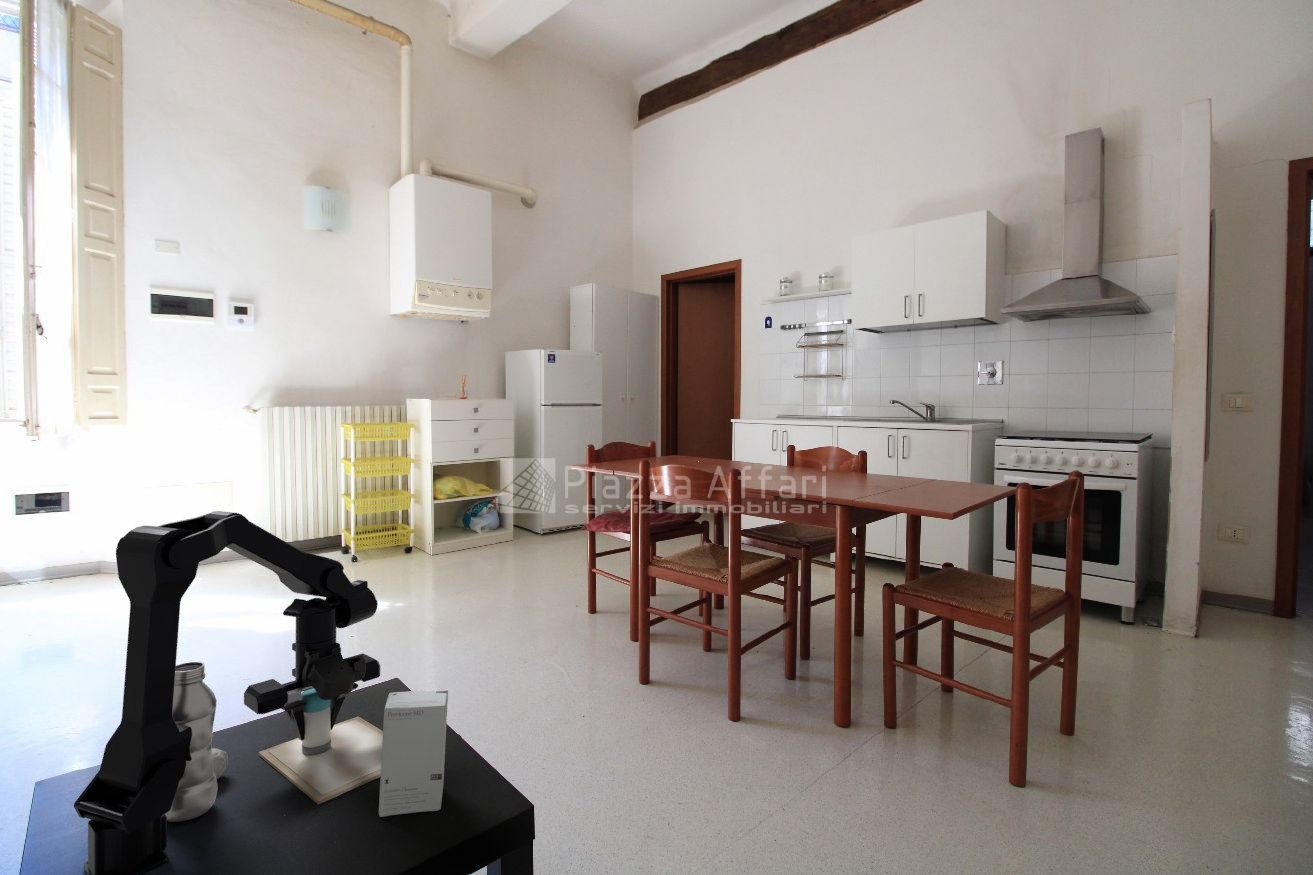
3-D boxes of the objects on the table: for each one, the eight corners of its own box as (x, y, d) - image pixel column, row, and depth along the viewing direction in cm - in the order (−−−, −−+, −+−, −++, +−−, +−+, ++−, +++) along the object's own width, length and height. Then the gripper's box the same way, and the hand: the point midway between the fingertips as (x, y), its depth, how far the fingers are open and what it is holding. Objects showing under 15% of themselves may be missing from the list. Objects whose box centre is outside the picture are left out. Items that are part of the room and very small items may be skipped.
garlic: (179, 798, 90) (179, 761, 90) (177, 780, 94) (177, 745, 94) (230, 783, 94) (230, 748, 94) (226, 767, 98) (226, 733, 98)
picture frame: (318, 804, 90) (318, 800, 90) (258, 755, 102) (258, 751, 102) (422, 757, 102) (422, 754, 102) (358, 718, 114) (358, 715, 114)
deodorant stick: (308, 758, 100) (308, 699, 100) (296, 749, 102) (296, 692, 102) (336, 747, 103) (335, 690, 103) (323, 739, 106) (323, 684, 106)
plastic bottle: (187, 832, 83) (187, 678, 82) (143, 824, 84) (143, 673, 84) (229, 803, 89) (230, 660, 89) (188, 796, 91) (188, 655, 90)
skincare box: (378, 818, 87) (379, 709, 86) (385, 793, 93) (386, 690, 92) (444, 810, 89) (445, 704, 88) (446, 786, 95) (448, 685, 94)
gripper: (273, 667, 90) (273, 777, 91) (398, 634, 105) (397, 728, 105) (242, 648, 97) (242, 750, 97) (363, 619, 112) (363, 708, 112)
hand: (315, 734), depth 103 cm, fingers closed on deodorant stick, 4 cm apart
